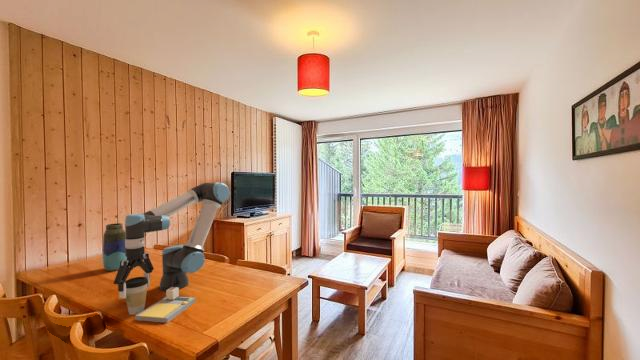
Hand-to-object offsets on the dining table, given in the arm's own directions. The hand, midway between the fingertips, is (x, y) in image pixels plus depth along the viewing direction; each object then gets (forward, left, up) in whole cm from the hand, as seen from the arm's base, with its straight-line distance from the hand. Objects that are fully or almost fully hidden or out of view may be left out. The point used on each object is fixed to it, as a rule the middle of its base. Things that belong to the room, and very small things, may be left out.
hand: (135, 291), depth 128 cm
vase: (-65, +51, -10) cm, 83 cm away
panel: (+14, +3, -10) cm, 17 cm away
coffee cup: (0, 0, -10) cm, 10 cm away
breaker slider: (+11, +11, -7) cm, 17 cm away
